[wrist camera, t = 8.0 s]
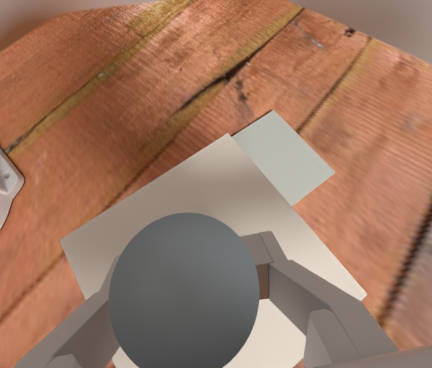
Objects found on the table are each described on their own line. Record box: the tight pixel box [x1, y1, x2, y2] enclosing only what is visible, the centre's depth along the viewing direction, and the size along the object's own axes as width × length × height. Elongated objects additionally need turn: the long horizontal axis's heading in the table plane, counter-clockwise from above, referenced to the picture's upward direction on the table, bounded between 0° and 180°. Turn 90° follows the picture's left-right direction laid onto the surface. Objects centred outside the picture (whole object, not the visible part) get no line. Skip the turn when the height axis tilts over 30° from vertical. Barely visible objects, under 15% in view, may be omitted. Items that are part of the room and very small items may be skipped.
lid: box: [59, 133, 368, 368], centre depth 9 cm, size 13×13×9 cm
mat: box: [232, 110, 335, 206], centre depth 31 cm, size 14×14×1 cm
